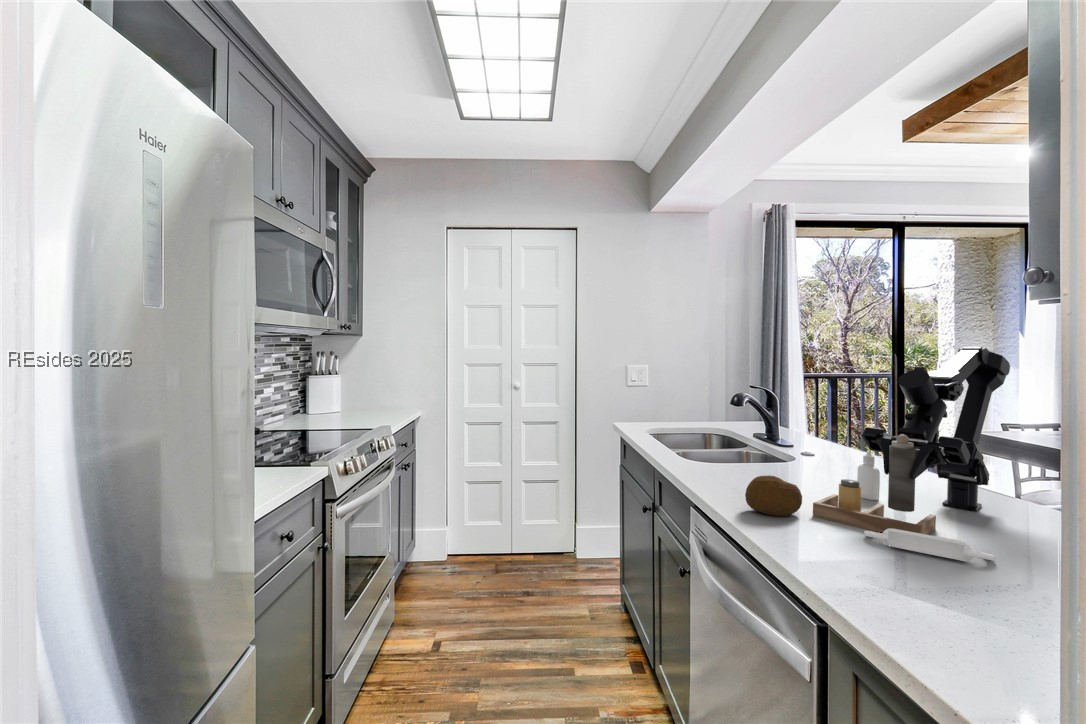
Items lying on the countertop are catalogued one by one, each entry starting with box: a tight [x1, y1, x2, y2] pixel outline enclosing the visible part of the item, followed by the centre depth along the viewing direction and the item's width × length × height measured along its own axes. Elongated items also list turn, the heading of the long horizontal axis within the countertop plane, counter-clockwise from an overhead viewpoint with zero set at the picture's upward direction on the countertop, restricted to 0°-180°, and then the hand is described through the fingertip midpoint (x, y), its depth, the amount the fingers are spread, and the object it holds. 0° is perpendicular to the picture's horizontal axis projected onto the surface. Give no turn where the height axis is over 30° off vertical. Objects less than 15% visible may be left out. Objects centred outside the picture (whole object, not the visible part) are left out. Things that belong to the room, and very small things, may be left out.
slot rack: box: [812, 493, 937, 535], centre depth 113 cm, size 11×20×3 cm, turn 40°
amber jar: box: [838, 478, 862, 512], centre depth 117 cm, size 4×4×8 cm
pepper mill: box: [887, 434, 916, 513], centre depth 109 cm, size 5×5×16 cm
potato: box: [744, 474, 803, 517], centre depth 118 cm, size 8×12×9 cm
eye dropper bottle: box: [856, 449, 881, 501], centre depth 132 cm, size 4×6×12 cm
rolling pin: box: [863, 528, 997, 563], centre depth 98 cm, size 20×8×4 cm, turn 52°
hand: (898, 475), depth 109 cm, fingers closed on pepper mill, 5 cm apart
